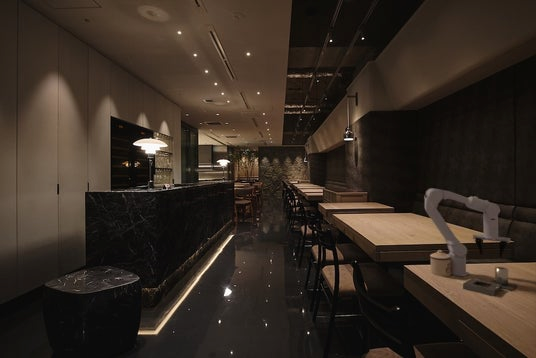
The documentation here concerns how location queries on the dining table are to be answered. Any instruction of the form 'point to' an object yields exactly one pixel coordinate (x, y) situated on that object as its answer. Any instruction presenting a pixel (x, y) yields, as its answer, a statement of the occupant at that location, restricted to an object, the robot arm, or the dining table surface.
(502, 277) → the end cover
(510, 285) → the rubber mat
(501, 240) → the robot arm
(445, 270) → the teacup with lid
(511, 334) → the dining table surface
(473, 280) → the block
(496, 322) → the dining table surface
